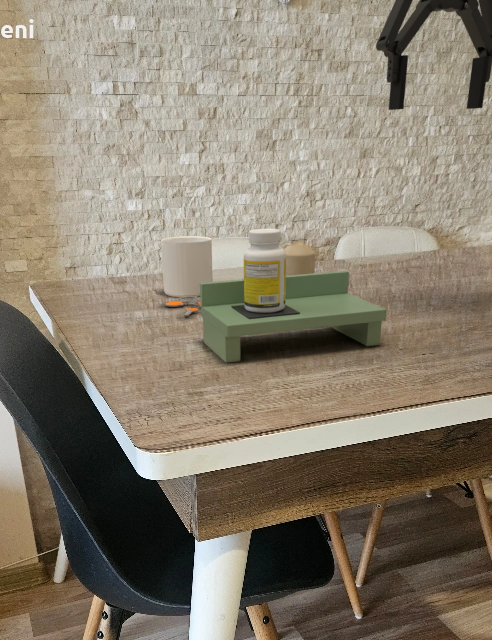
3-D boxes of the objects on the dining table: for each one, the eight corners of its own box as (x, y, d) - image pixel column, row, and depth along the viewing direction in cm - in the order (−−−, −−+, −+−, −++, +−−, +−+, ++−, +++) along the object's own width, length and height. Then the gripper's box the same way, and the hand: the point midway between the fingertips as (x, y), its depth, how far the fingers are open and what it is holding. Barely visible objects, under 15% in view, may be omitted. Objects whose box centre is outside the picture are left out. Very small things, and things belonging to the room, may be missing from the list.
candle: (281, 301, 115) (282, 240, 110) (313, 302, 114) (316, 240, 109) (278, 308, 110) (279, 245, 105) (312, 309, 109) (314, 245, 104)
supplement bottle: (260, 302, 91) (261, 226, 87) (293, 307, 88) (295, 229, 83) (235, 310, 87) (234, 231, 83) (268, 315, 84) (269, 234, 80)
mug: (217, 295, 120) (216, 241, 116) (167, 299, 118) (164, 244, 114) (204, 283, 130) (203, 233, 126) (158, 286, 129) (155, 235, 124)
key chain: (160, 301, 116) (159, 296, 115) (199, 297, 118) (199, 292, 118) (182, 317, 105) (181, 312, 105) (225, 313, 107) (225, 307, 107)
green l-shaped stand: (383, 346, 89) (389, 285, 86) (228, 365, 83) (226, 300, 80) (342, 325, 99) (346, 270, 96) (201, 340, 94) (199, 282, 90)
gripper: (512, -61, 95) (488, 109, 104) (358, -73, 88) (348, 111, 97) (552, -76, 88) (522, 106, 98) (389, -90, 81) (375, 108, 91)
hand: (435, 109), depth 98 cm, fingers open, 13 cm apart
